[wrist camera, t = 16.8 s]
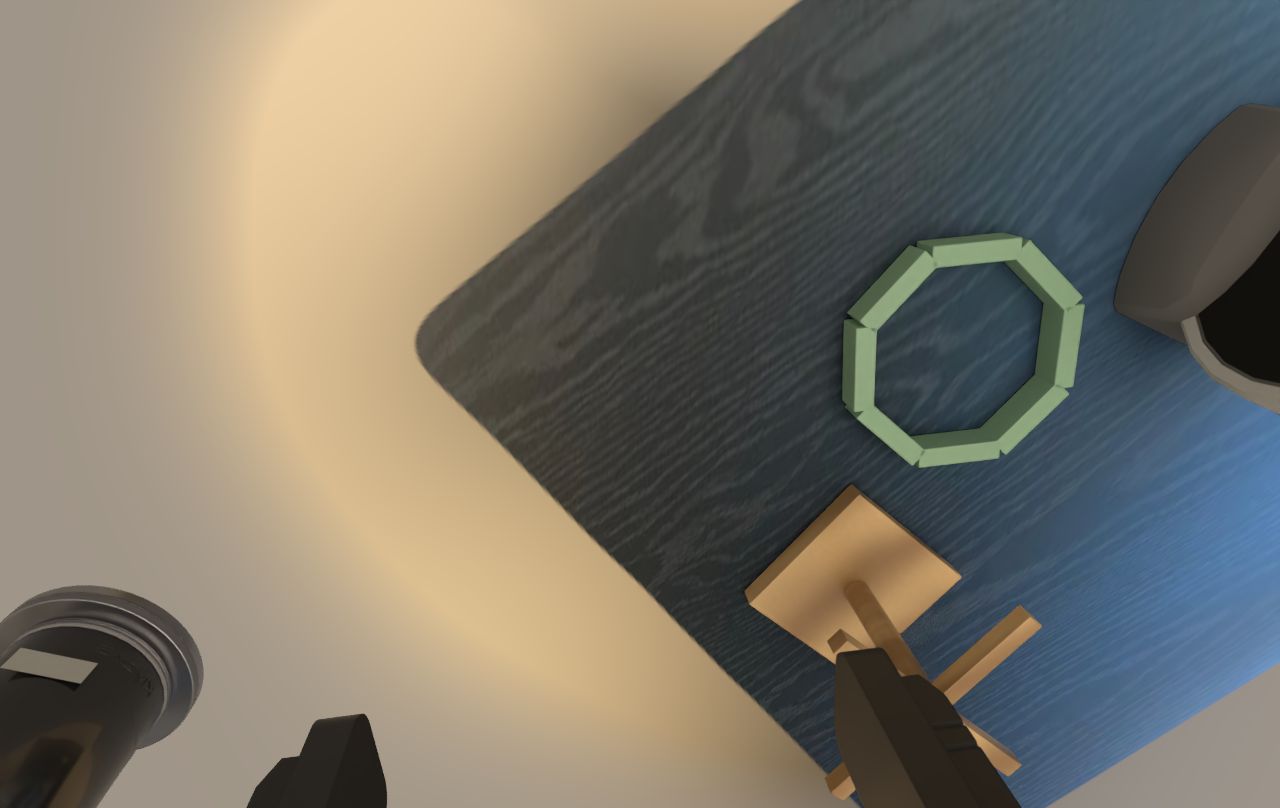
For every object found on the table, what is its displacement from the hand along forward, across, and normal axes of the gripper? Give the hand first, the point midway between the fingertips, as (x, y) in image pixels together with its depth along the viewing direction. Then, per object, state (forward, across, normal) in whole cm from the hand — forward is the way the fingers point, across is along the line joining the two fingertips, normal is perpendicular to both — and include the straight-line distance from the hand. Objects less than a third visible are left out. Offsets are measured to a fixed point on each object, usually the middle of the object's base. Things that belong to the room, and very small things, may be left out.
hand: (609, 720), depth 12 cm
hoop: (+30, -22, +4) cm, 37 cm away
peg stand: (+30, -16, +20) cm, 39 cm away
